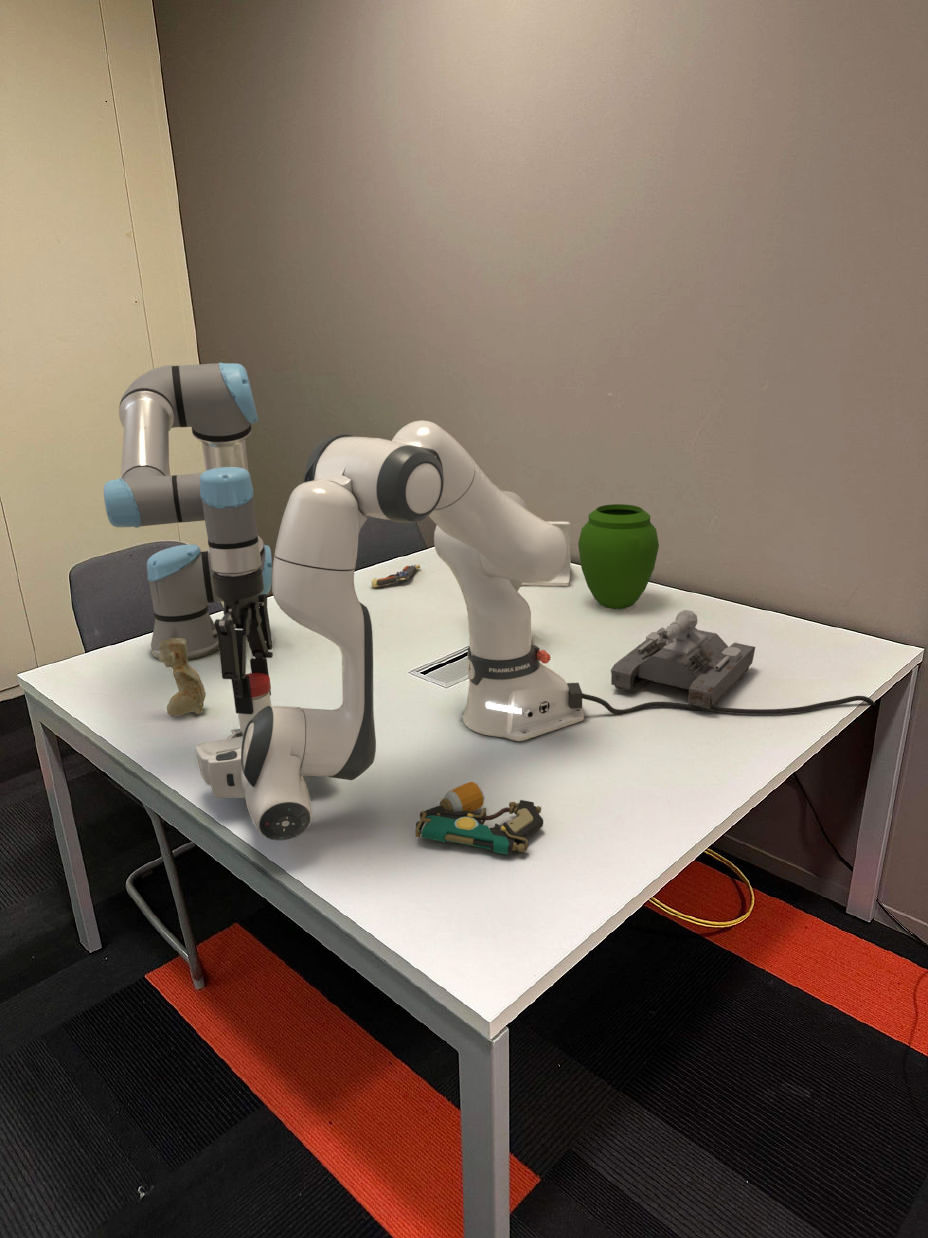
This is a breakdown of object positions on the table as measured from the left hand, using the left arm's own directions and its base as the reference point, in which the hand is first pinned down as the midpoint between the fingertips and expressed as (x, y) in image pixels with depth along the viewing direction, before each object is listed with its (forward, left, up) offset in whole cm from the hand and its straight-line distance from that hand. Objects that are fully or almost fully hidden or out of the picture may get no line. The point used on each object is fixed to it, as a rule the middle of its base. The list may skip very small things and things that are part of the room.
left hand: (254, 703), depth 140 cm
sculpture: (-28, +2, -12) cm, 31 cm away
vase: (+1, +105, -12) cm, 105 cm away
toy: (+37, +75, -12) cm, 85 cm away
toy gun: (-58, +84, -12) cm, 103 cm away
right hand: (-1, 0, -5) cm, 5 cm away
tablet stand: (-32, +109, -12) cm, 114 cm away
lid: (0, 0, +4) cm, 4 cm away
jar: (0, 0, -12) cm, 12 cm away
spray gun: (+41, +10, -12) cm, 44 cm away
